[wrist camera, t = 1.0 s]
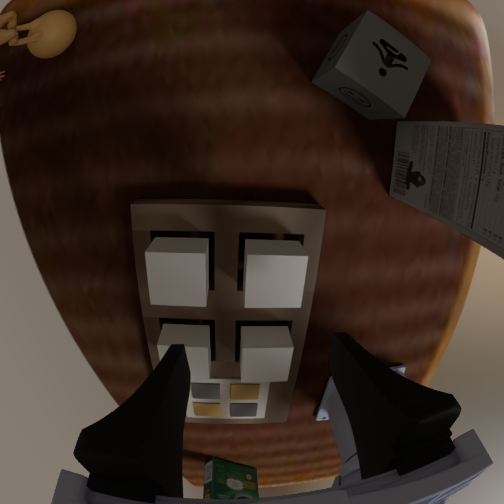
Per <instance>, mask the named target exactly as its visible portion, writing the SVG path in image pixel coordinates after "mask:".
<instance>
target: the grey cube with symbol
mask: <svg viewBox="0 0 504 504" xmlns="http://www.w3.org/2000/svg"><path fill="white" fill-rule="evenodd" d="M430 62H431V59H430V58H429V57H428V56H427V55H426V54H425V53H423V52H422V51H421V50H420V49H419V48H418V47H417V46H415V45H414V44H413V43H412V42H411V41H409V40H408V39H407V38H406V37H405V36H403V35H402V34H401V33H399V32H398V31H397V30H396V29H394V28H393V27H392V26H390V25H389V24H388V23H386V22H385V21H383V20H382V19H381V18H379V17H378V16H376V15H375V14H374V13H372V12H371V11H369V10H367V11H365V12H364V13H363V14H362V15H360V16H359V17H358V18H357V19H356V20H354V21H353V22H352V23H351V24H349V25H348V26H347V27H346V28H345V29H343V30H342V31H341V32H340V33H339V35H338V37H337V38H336V40H335V42H334V43H333V45H332V47H331V48H330V50H329V52H328V54H327V55H326V57H325V59H324V60H323V62H322V64H321V66H320V67H319V69H318V71H317V73H316V74H315V76H314V78H313V80H312V81H311V83H313V84H315V85H316V86H318V87H320V88H321V89H323V90H325V91H326V92H328V93H330V94H331V95H333V96H334V97H336V98H337V99H339V100H341V101H342V102H344V103H345V104H347V105H348V106H350V107H351V108H353V109H354V110H356V111H357V112H359V113H360V114H361V115H363V116H364V117H366V118H367V119H368V120H374V119H395V118H405V117H406V115H407V113H408V111H409V108H410V106H411V104H412V102H413V100H414V98H415V96H416V93H417V91H418V89H419V87H420V85H421V82H422V80H423V78H424V76H425V73H426V71H427V69H428V67H429V64H430Z"/></svg>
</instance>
